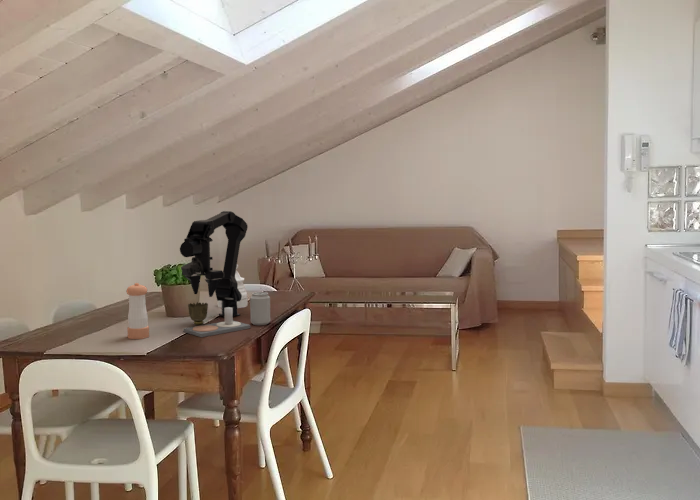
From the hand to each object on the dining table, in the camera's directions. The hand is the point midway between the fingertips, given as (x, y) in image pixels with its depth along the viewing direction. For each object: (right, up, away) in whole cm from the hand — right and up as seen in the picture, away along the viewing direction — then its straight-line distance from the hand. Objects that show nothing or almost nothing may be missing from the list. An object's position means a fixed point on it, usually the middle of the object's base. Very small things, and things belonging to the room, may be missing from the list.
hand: (203, 295), depth 266 cm
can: (+21, -11, +3) cm, 24 cm away
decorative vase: (-2, -11, +2) cm, 12 cm away
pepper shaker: (-19, -14, -18) cm, 30 cm away
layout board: (+7, -12, -8) cm, 16 cm away
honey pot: (+5, -7, +39) cm, 40 cm away
